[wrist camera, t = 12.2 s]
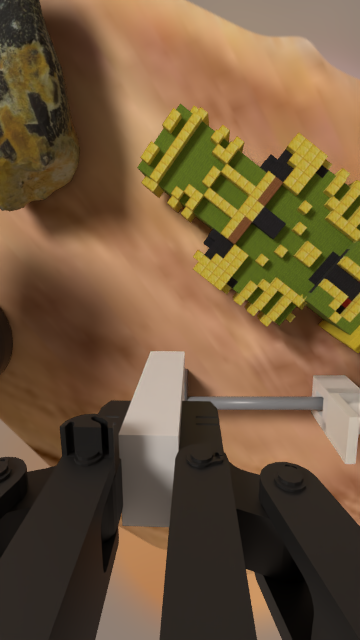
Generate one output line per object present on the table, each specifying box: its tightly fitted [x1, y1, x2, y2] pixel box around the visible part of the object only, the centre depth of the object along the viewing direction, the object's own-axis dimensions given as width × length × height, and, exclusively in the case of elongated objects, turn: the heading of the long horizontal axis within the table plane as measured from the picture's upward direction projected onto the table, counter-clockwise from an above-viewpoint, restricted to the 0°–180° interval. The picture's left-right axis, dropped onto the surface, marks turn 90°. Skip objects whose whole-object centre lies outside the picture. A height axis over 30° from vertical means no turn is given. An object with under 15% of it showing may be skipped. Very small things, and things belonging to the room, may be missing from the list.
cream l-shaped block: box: [311, 375, 360, 464], centre depth 38 cm, size 4×5×11 cm
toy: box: [137, 104, 360, 353], centre depth 37 cm, size 17×10×30 cm
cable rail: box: [184, 369, 324, 410], centre depth 42 cm, size 29×6×6 cm, turn 91°
